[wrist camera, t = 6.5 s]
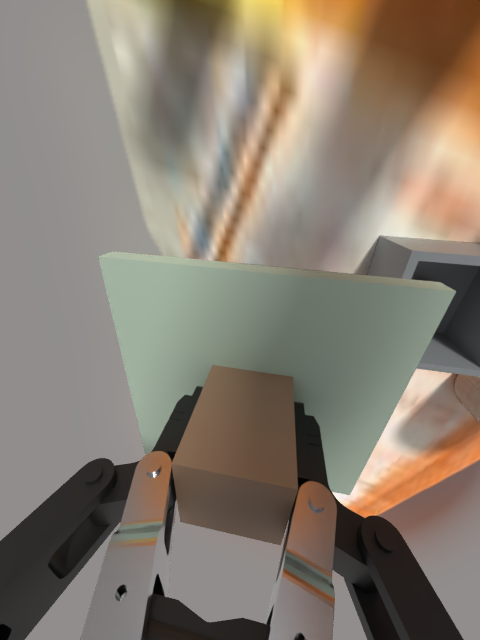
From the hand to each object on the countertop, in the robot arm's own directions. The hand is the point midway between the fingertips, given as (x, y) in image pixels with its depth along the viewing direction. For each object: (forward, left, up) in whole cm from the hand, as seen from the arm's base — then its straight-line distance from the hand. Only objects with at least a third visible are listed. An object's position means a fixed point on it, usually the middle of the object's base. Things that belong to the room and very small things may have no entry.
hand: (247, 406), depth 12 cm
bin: (0, +18, -22) cm, 28 cm away
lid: (0, 0, -2) cm, 2 cm away
